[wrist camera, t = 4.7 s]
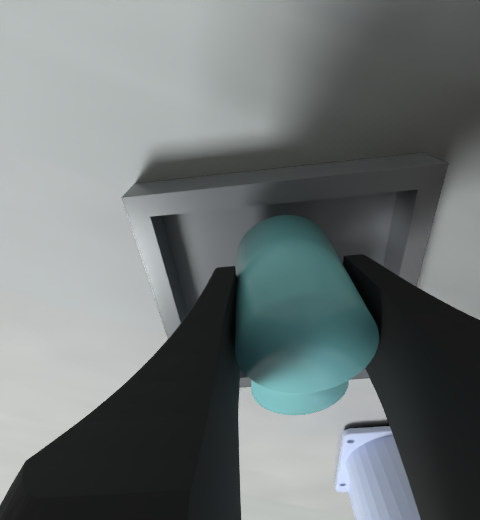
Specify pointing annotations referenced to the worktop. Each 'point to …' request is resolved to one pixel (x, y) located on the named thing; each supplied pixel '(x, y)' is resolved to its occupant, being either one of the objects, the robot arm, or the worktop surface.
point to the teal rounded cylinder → (297, 399)
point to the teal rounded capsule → (298, 309)
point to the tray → (282, 203)
